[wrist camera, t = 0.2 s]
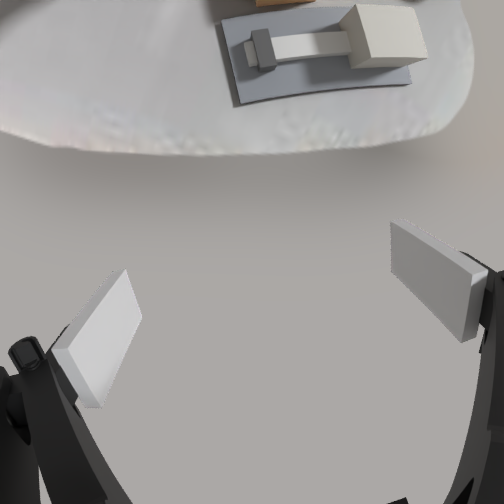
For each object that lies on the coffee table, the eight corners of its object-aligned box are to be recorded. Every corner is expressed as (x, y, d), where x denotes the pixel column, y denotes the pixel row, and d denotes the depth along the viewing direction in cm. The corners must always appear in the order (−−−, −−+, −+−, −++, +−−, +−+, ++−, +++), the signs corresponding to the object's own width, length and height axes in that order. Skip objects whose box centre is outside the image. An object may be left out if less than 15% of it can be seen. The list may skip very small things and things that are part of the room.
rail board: (221, 22, 33) (218, -2, 26) (388, 10, 32) (413, -9, 25) (240, 104, 37) (241, 95, 30) (408, 84, 36) (439, 77, 29)
